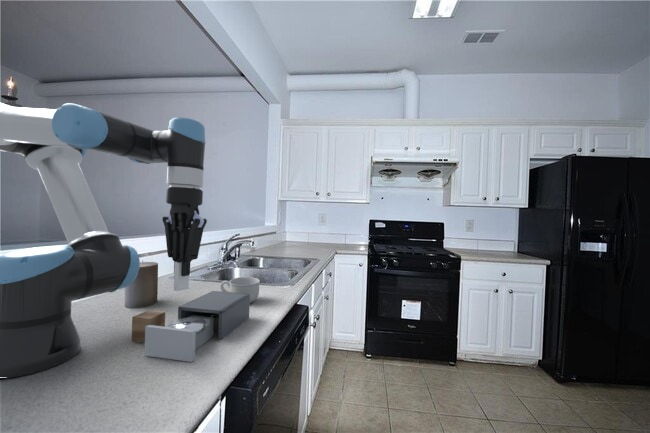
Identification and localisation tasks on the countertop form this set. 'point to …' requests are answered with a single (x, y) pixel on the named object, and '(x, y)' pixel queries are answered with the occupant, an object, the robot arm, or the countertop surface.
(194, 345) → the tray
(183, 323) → the disc
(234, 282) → the teacup
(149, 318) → the walnut block
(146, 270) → the pillar candle
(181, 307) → the drawer casing
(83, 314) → the countertop surface
